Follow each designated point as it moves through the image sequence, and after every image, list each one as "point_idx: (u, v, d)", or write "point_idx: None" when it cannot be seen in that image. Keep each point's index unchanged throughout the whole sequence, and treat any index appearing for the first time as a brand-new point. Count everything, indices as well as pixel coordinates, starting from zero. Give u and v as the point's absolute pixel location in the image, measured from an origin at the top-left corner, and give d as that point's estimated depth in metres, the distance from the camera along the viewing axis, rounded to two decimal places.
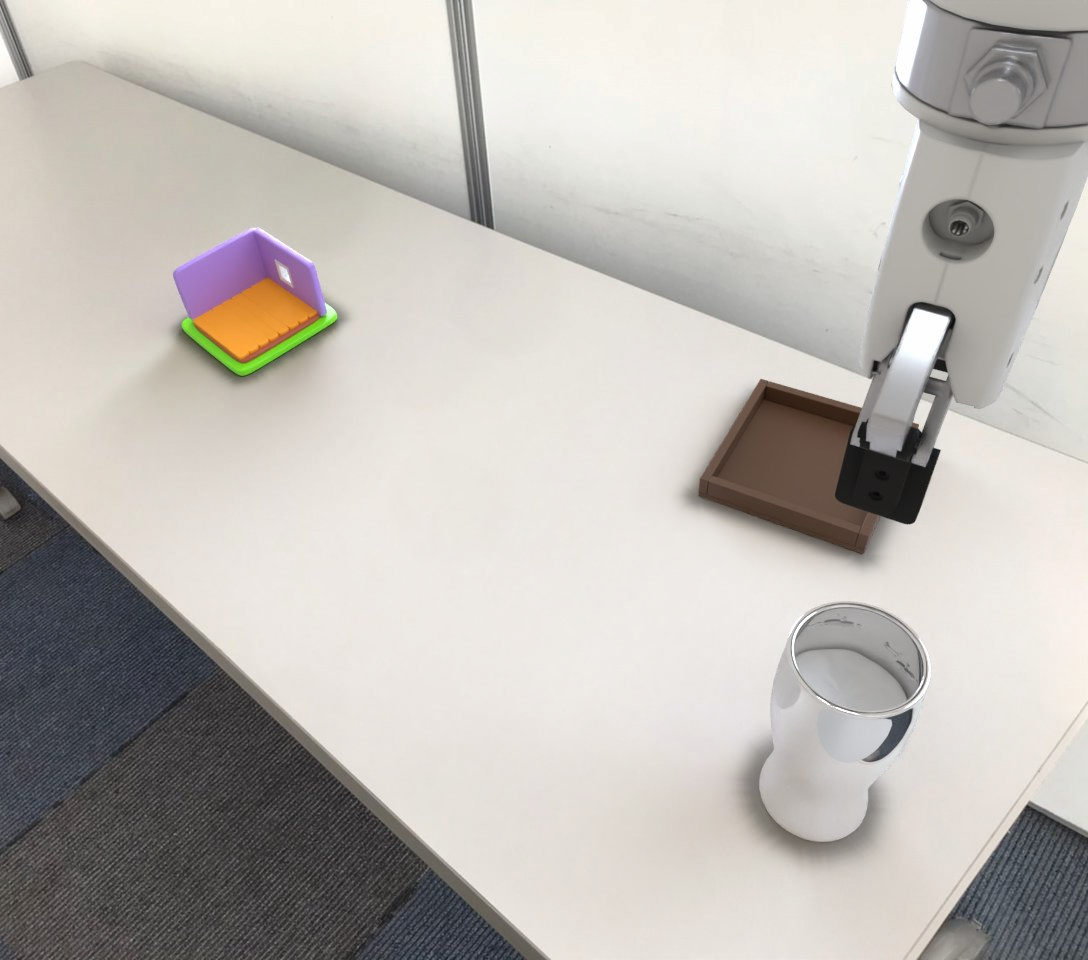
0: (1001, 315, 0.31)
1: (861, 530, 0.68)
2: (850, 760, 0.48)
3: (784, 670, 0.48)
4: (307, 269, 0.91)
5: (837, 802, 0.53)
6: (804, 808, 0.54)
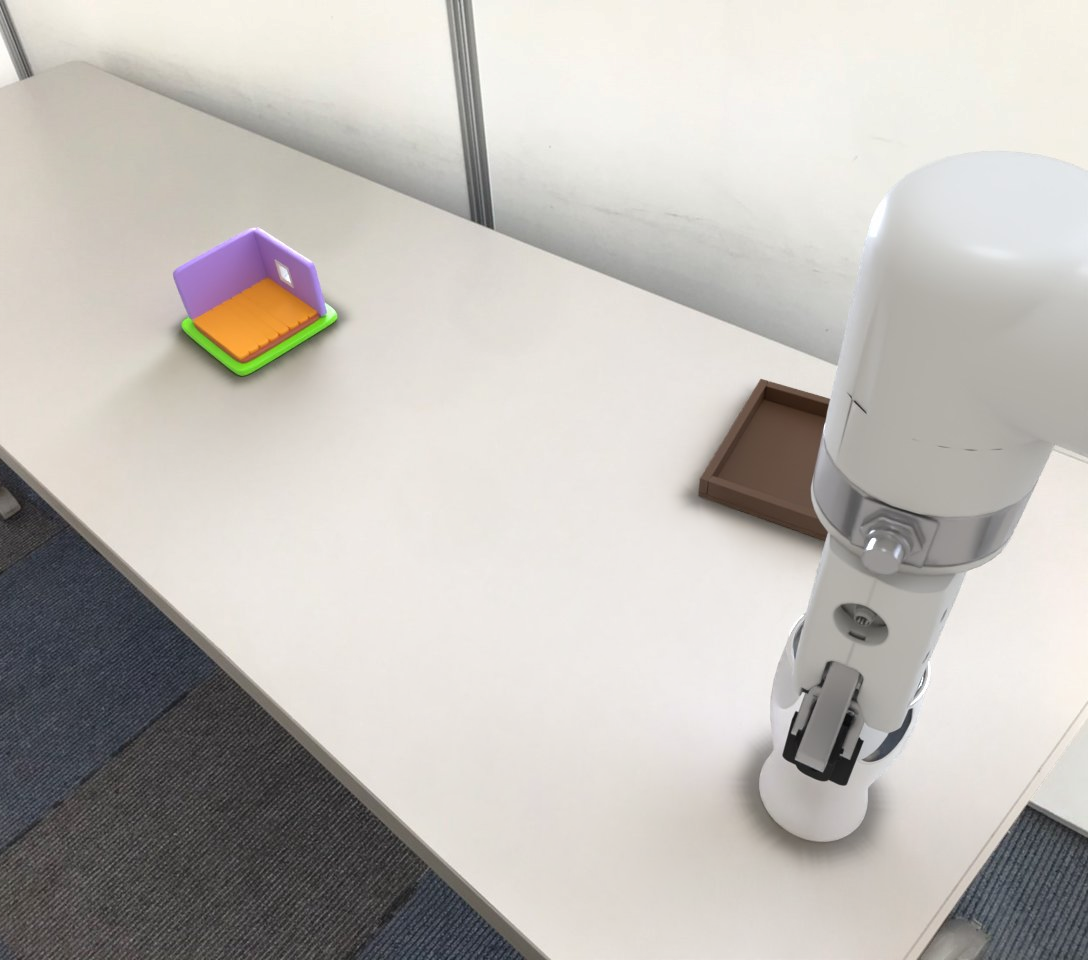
0: (898, 682, 0.39)
1: None
2: None
3: (784, 670, 0.48)
4: (307, 269, 0.91)
5: (837, 802, 0.53)
6: (804, 808, 0.54)
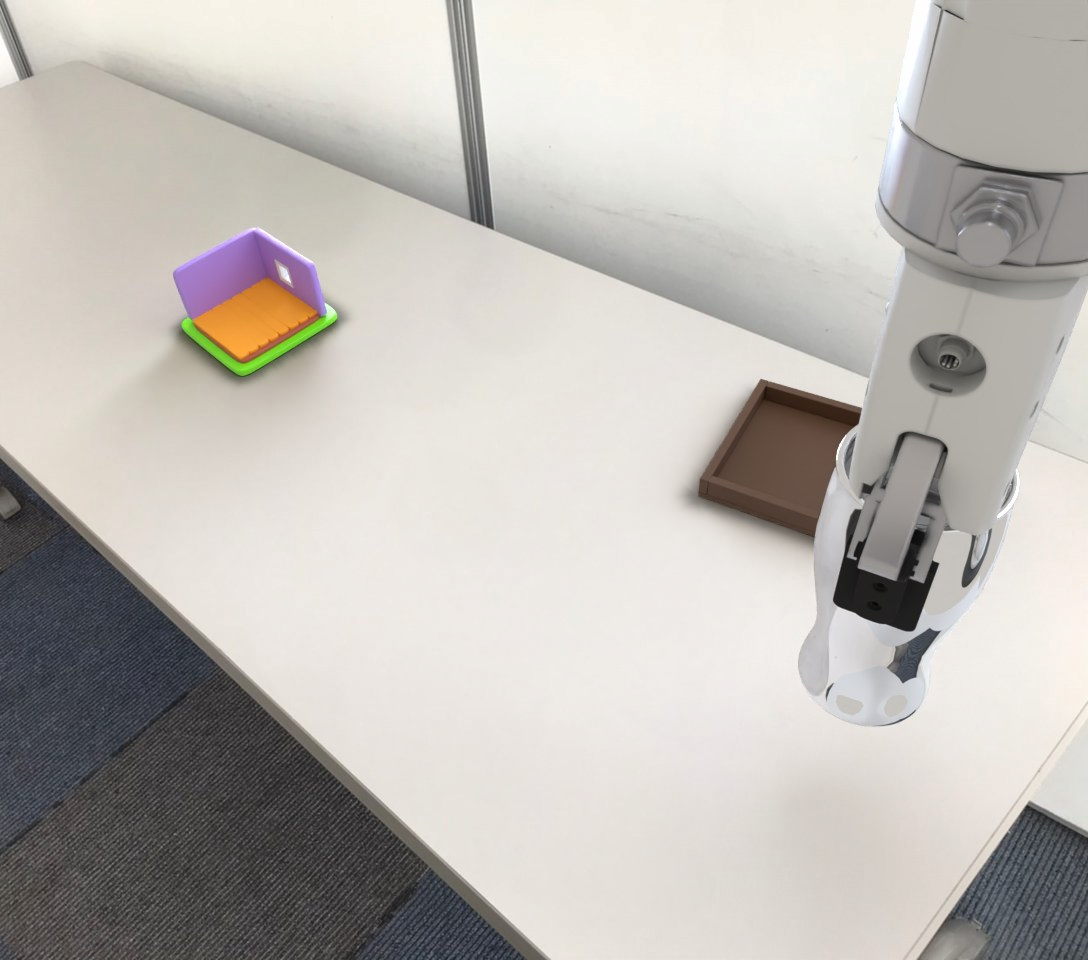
0: (996, 449, 0.30)
1: None
2: None
3: (833, 492, 0.39)
4: (307, 269, 0.91)
5: (896, 669, 0.43)
6: (855, 683, 0.45)
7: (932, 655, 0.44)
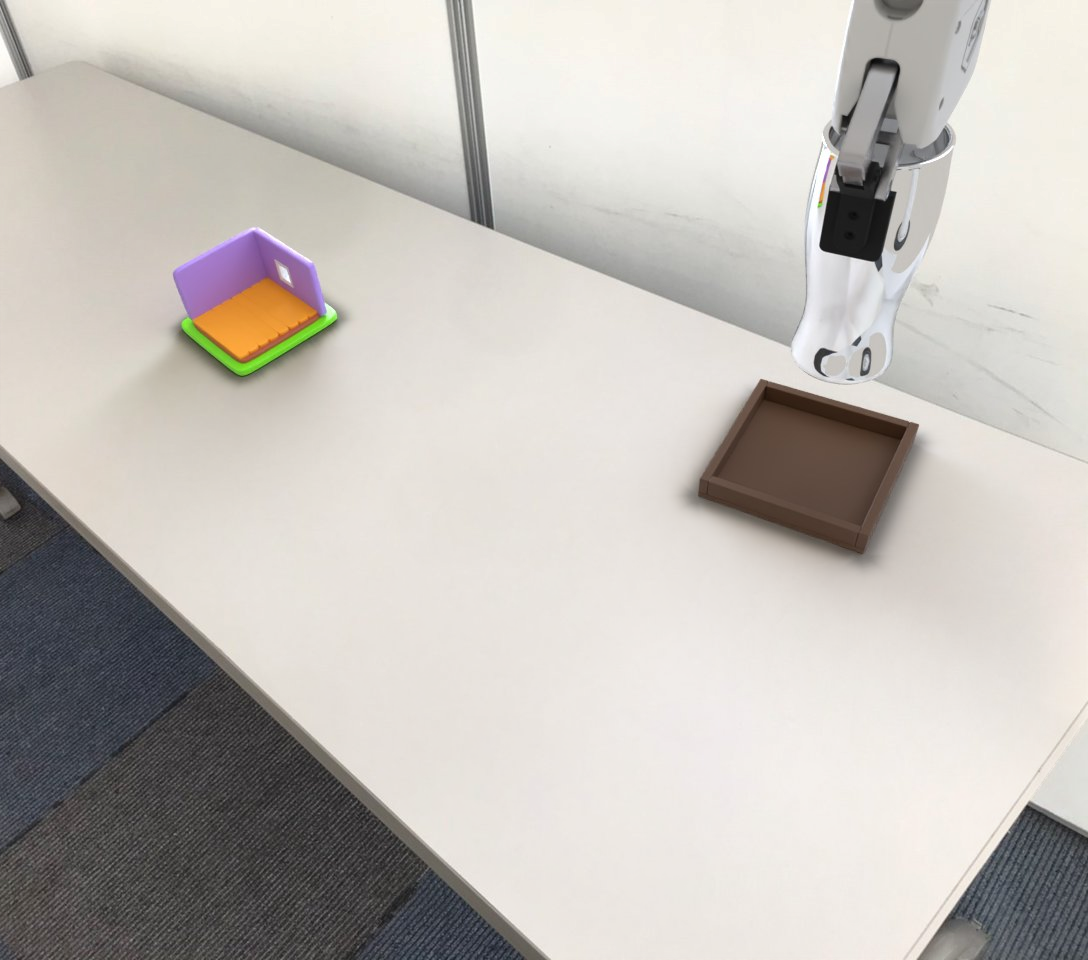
0: (932, 61, 0.43)
1: (861, 530, 0.68)
2: None
3: (819, 160, 0.52)
4: (307, 269, 0.91)
5: (866, 322, 0.57)
6: (835, 342, 0.59)
7: (894, 314, 0.57)
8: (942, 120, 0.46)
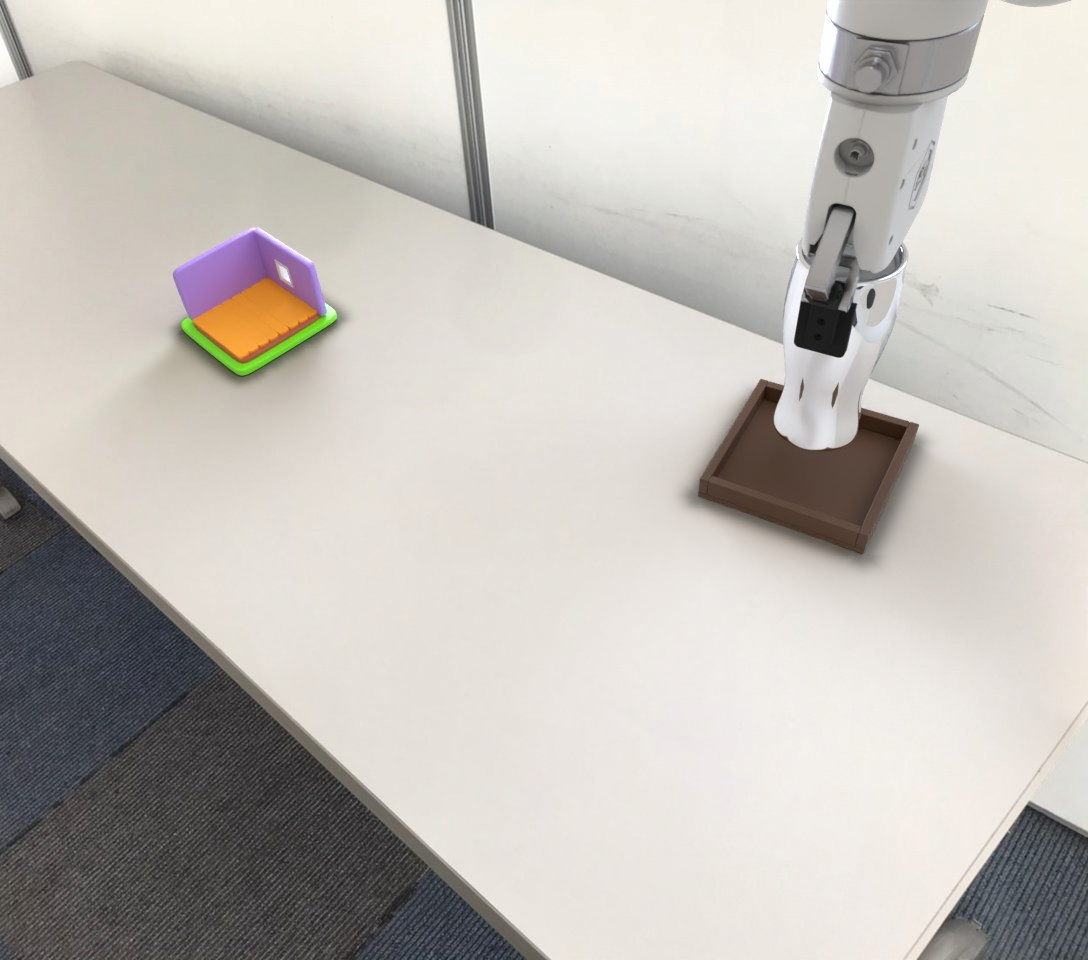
0: (882, 209, 0.53)
1: (861, 530, 0.68)
2: None
3: (794, 270, 0.62)
4: (307, 269, 0.91)
5: (835, 402, 0.66)
6: (809, 417, 0.68)
7: (859, 395, 0.67)
8: (893, 250, 0.56)
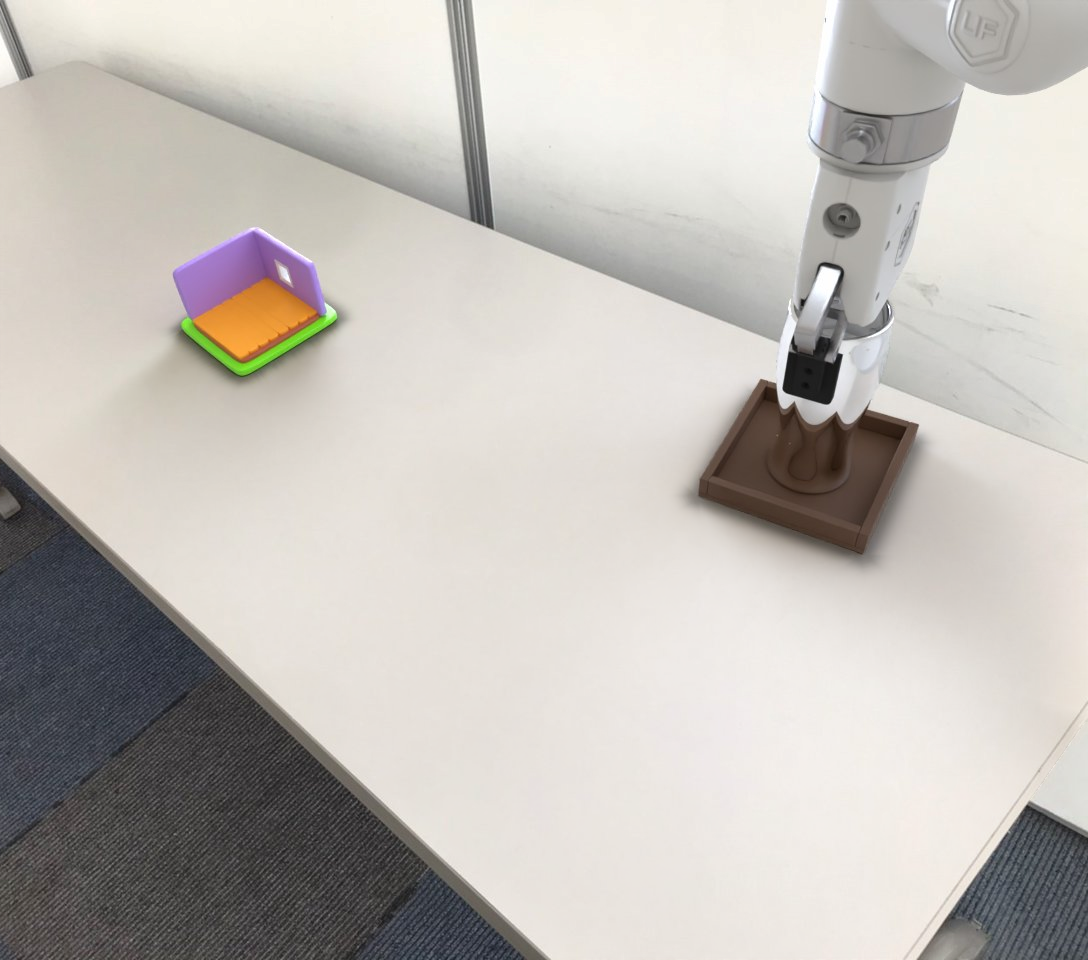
0: (868, 268, 0.55)
1: (861, 530, 0.68)
2: (835, 389, 0.64)
3: (787, 325, 0.65)
4: (307, 269, 0.91)
5: (826, 447, 0.69)
6: (802, 461, 0.71)
7: (849, 440, 0.70)
8: (880, 304, 0.59)
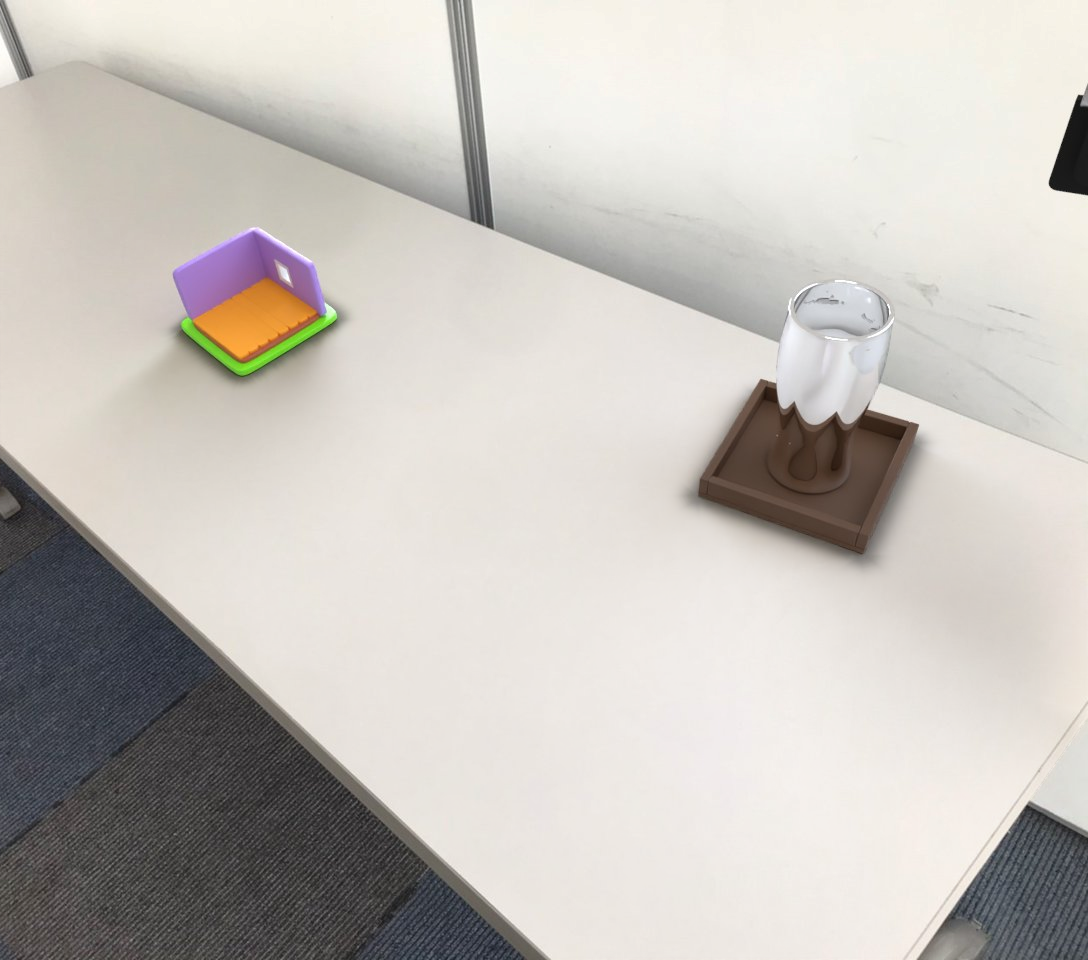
0: None
1: (861, 530, 0.68)
2: (835, 389, 0.64)
3: (787, 325, 0.65)
4: (307, 269, 0.91)
5: (826, 447, 0.69)
6: (802, 461, 0.71)
7: (849, 440, 0.70)
8: None
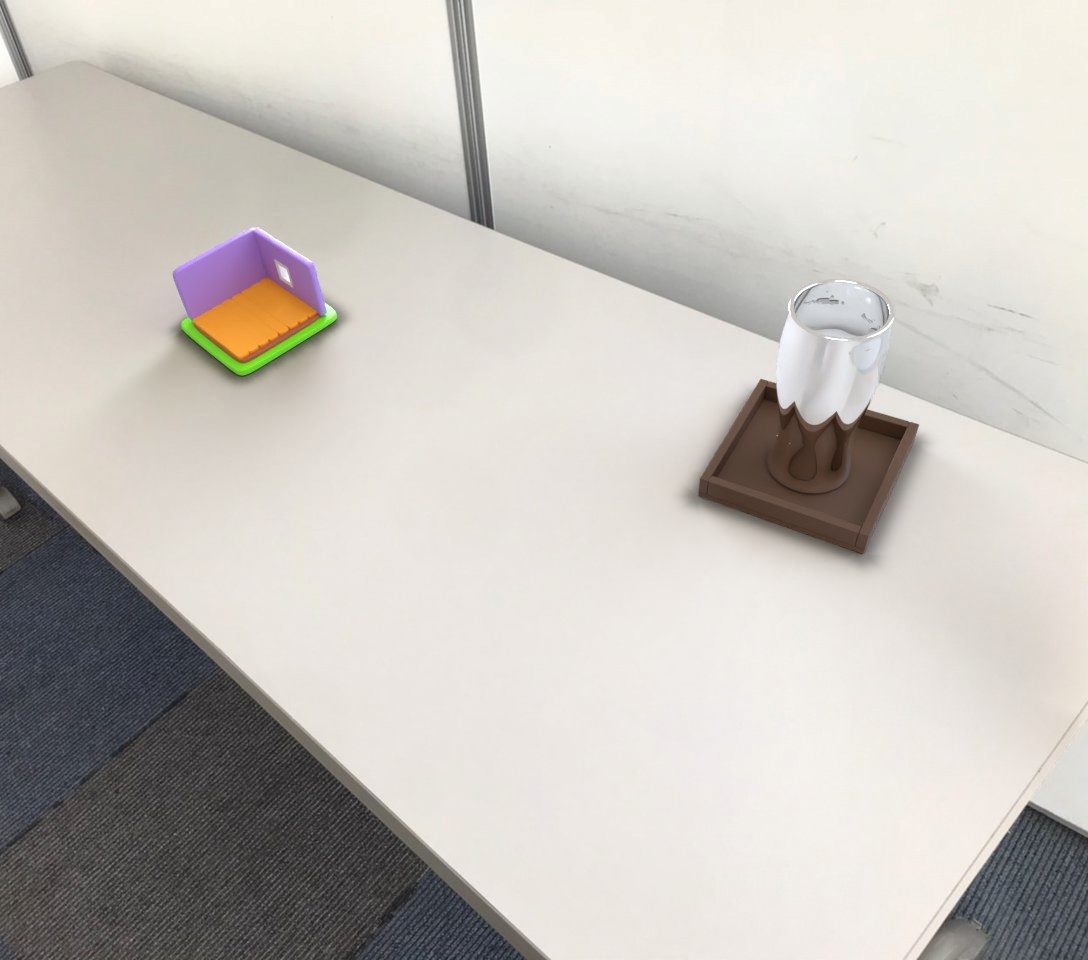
0: None
1: (861, 530, 0.68)
2: (835, 389, 0.64)
3: (786, 325, 0.65)
4: (307, 269, 0.91)
5: (826, 447, 0.69)
6: (802, 461, 0.71)
7: (849, 440, 0.70)
8: None
